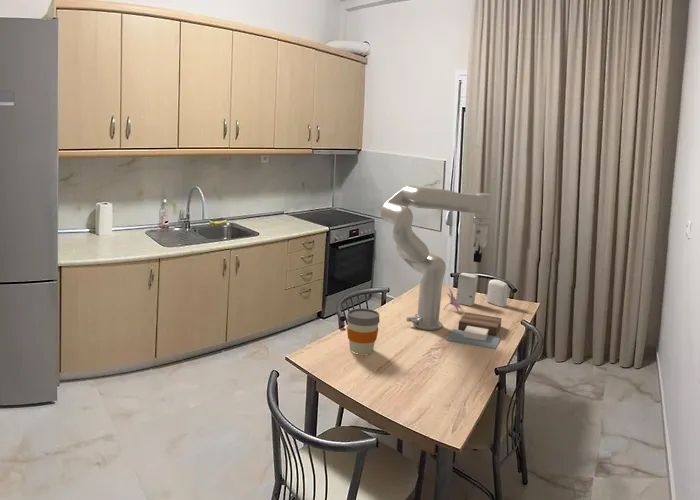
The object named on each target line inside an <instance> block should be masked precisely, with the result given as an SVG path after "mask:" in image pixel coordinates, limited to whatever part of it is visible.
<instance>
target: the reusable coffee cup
mask: <svg viewBox="0 0 700 500" xmlns="http://www.w3.org/2000/svg"><path fill="white" fill-rule="evenodd" d="M346 321H347V326H346V331H347V339H348V343H349V344H348V345H349V351H350V350H351V351H353V352H355V353H358V354H368V355H370V354H369V353H371V352H372V353H374V347H375V344H376V342H375V341H377V339H378V334H379V327H378V326H379V324H380V312H378V311H377V310H374V309H371V308H353V309H350V310H349V311H347V317H346ZM351 351H350V352H351ZM372 353H371V354H372ZM358 354H357V355H358Z"/></svg>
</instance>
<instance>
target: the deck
mask: <svg viewBox="0 0 700 500" xmlns="http://www.w3.org/2000/svg"><path fill="white" fill-rule="evenodd" d="M467 325H468V326H474V327H480V328H485V329H489V331H488V335H491V336H498V335H497V334H498V333H499V331H500V330H501V326H502V317H496V316H490V315H485V314H479V313H472V312H466V311H465V312H464V313H463V315H462V316H461V318H460V319H459V321H458V329H457V330H463V331H464V330H465V329H466V327H467Z"/></svg>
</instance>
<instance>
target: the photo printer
mask: <svg viewBox="0 0 700 500" xmlns="http://www.w3.org/2000/svg"><path fill="white" fill-rule="evenodd" d="M487 286H488V287H487V295H486V302H487V303H488V304H491V305H495V306H498V307H501V308H505V307H507V300H508V291H509V285H508V284H507V283H506V282H504V281H503V280H500V279H490V280H489V281H488V285H487Z"/></svg>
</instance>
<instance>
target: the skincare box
mask: <svg viewBox="0 0 700 500" xmlns="http://www.w3.org/2000/svg"><path fill="white" fill-rule="evenodd" d="M478 279H479V276H478V275H477V274H473V273H469V272H468V273H467V272H461V273H459V276H458V281H457V289H456V297H455V299H456V301H457V302H458V304H459V305H464V306H468V307H472V306H473V305H475V300H476V293H477V286H478Z"/></svg>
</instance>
